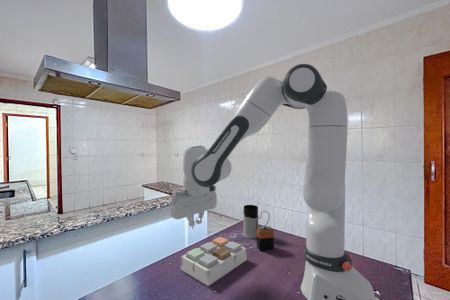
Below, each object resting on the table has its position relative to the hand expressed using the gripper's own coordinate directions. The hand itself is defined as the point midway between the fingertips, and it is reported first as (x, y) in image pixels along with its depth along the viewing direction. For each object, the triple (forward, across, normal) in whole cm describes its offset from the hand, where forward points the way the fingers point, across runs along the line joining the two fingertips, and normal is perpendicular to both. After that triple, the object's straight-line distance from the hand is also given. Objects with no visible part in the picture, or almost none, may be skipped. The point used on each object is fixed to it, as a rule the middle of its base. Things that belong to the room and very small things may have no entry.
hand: (195, 224), depth 82 cm
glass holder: (+17, +41, 0) cm, 44 cm away
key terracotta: (+14, +14, 0) cm, 20 cm away
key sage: (+14, 0, 0) cm, 14 cm away
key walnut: (+14, +7, -7) cm, 17 cm away
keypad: (+17, +7, -4) cm, 19 cm away
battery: (+17, +32, -12) cm, 38 cm away
